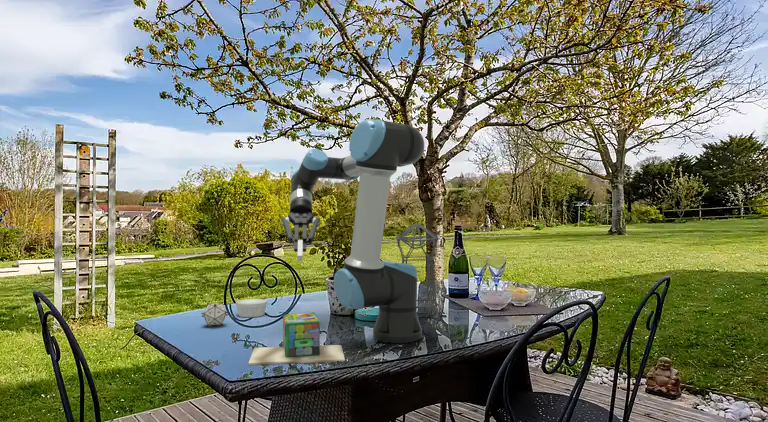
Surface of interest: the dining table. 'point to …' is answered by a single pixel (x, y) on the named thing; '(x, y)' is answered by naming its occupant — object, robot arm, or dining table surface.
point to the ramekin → (251, 307)
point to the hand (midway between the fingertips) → (299, 258)
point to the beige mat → (278, 357)
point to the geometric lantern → (421, 259)
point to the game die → (214, 314)
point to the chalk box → (301, 334)
